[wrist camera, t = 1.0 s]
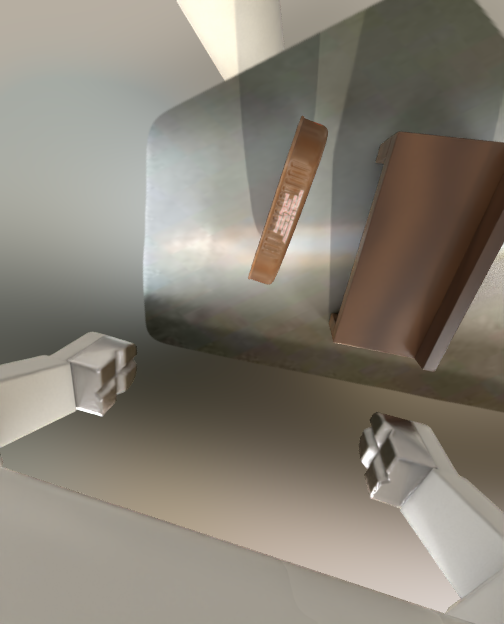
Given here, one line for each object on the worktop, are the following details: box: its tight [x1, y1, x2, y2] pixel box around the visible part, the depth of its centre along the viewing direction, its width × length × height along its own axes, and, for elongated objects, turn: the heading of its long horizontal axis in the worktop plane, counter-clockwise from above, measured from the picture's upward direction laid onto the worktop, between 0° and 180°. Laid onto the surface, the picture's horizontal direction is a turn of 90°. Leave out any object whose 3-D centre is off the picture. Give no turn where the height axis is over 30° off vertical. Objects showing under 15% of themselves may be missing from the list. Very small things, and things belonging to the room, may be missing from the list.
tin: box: [248, 116, 328, 284], centre depth 25 cm, size 15×3×8 cm, turn 162°
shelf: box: [329, 131, 504, 372], centre depth 25 cm, size 10×20×7 cm, turn 172°
